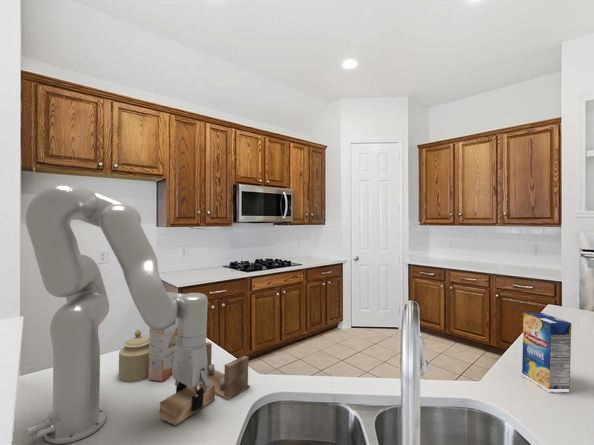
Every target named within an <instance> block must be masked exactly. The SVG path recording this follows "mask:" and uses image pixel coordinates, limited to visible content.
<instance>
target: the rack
mask: <svg viewBox="0 0 594 445" xmlns="http://www.w3.org/2000/svg"><path fill="white" fill-rule="evenodd" d="M212 345H213V343H212V342H209V341H206V349H207V378H208V380H209V382H210V383H211V384H213V385H215V395H216V396H218V397H220V398H222V399H223V400H225V401H230V400H231V399H232V398H235V397H237V396H238V395H239V394H241V393H243V392H244V391H247V390H248V389H250V385H249V356H246V355H243V356H241V357H239V358H237V359H234V360H232V361H230V362H228V363H226V364H224V372H221V371H219V370H216V369H215V364H214V363H212V351H213V350H212V348H213V347H212Z"/></svg>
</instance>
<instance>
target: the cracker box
mask: <svg viewBox="0 0 594 445" xmlns="http://www.w3.org/2000/svg"><path fill="white" fill-rule="evenodd" d="M148 338H149V368H148V378H147V379H148V380H149V381H157V382H161V383H162V382H165V380H167V379H168V378H169V377H170V376H172V366H173V357H174V350H175V346H176V343H177V338H178V319H177V318H176V320H175V322H174V323H173V324H172V325H171V326H170V327H169V328H167V329H164V330H154V329H152V328H150V327H149V336H148Z"/></svg>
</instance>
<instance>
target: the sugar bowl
mask: <svg viewBox="0 0 594 445" xmlns="http://www.w3.org/2000/svg"><path fill="white" fill-rule="evenodd" d="M148 368H149V336H148V337H147V336H145V335H142V331H141V330H140V329H137V330H135V332H134V336H133V337H131V338H129V339H128V340H127V341H125V342H124V343H123V347H122V348H121V349H120V350H119V351H118V379H119V380H120V381H122V382H125V383H133V382H139V381H143V380H147V379H148Z"/></svg>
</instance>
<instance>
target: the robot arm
mask: <svg viewBox="0 0 594 445" xmlns="http://www.w3.org/2000/svg"><path fill="white" fill-rule="evenodd" d="M72 220H73V221H75V220H78V221H81V222H85V223H87V224H89V225H92V226H95V227H99V228H100V229H101V231H102V233H103V235H104V238H106V241H107V243H108V244H109V246H110V248H111V250H112V252H113V254H114V256H115V257H116V260H117V261H118V262H117V263H118V264H119V266H120V268H121V269H122V274H123V277H124V280H125V282H126V285H127V288H128V290H129V293H130V296H131V298H132V301H133V303H134V305H135V307H136V309H137V311H138V312H139V314H140V316H141V318H142V320H143V321H144V324H146V325H147V327H148V328H149V329H150V328H152V329H154V330H164V329H167V328H169V327H170V326H171V325H172V324H173V323H174V322H175V320H176V318H177V319H178V338H177V343H176V346H175V350H174V357H173V366H172V375H171V376H172V378H173V379H174V380H175V382H174V385H175V393H177V392H179V391H181V390H182V389H184V388H186V387H190V388H193V393H194V396H192V411H193V412H194V411H196V410H198V409H199V410H201V409H202V408H203V407H204V406H203V394H204V393H205V392H206V391H207V389H208V388H209V387H210V382H209V380H208V378H207V349H206V343H207V328H208V327H207V326H208V325H207V324H208V303H209V302H208V299H209V298H208V296H207V295H206V294H204V293H202V292H188V293H177V292H173V291H172V292H171V291H169V292H168V291H167V290H166V288H165V286H164V284H163V281H162V279H161V276H160V272H159V267H158V258H157V255H156V252H155V251H154V248H153V246H152V245H151V243H150V241H149V239H148V237H147V234H146V233H145V231H144V229H143V226H142V225H141V223H142V218H141V215H140V213H139V211H138V210H137V209H136V208H135V207H133V206H130V205H128V204H125V203H122V202H120V201H118V200H114V199H112V198H110V197H107V196H105V195H102V194H99V193H98V192H94V191H92V190H89V189H87V188H82V187H80V186H76V185H71V184H67V183H66V184H62V183H61V184H60V183H59V184H54V185H51V186H48V187H46V188H45V189H43V190H41V191H40V192H38V193H37V194H36V195H35V196H34V197H33V198H32V199H31V200H30V201H29V204H28V206H27V207H26V212H25V225H26V230H27V233H28V236H29V239H30V241H31V245H32V248H33V251H34V252H33V253H34V256H35V260H36V264H37V266H38V269H39V273H40V276H41V280H42V284H43V286H44V288H45V290H46V292H48V294H50V295H51V296H53V297H55V298H65V300H66V303H65V304H63V305H62V306H60V308H59V309H58V310H56V312H55V314H54V315H53V317H52V318H51V321H50V326H49V334H50V339H51V346H52V412H50V413H48V415H47V419H44V420H43V421H42V422H41V423H39V424H35V425H32V426H29V427H28V428H26V430H25V434H26V437H27V438H30V437H33V436H36V438H37V439H39V438H42V437H43V438H44V440H45V441H46V442H47V443H50V444H53V445H54V444H55V445H56V444H57V445H60V444H61V445H62V444H67V443H73V442H77V441H80V440H82V439H84V438H87V437H88V436H91V435H92V434H93V433H96V432H97V431H98V430H99V429H100V428H102V426H104V424H105V423H106V421H107V412H106V410H105V409H103V408H100V391H101V390H100V389H101V388H100V385H101V384H100V383H101V382H100V381H101V380H100V379H101V378H100V376H101V373H100V372H101V369H100V368H101V360H100V359H101V346H100V337H99V327H100V326H101V324H102V323H103V321H104V320H106V319H107V318H106V317H107V316H108V314H109V311H110V302H109V301H110V300H109V297H108V294H107V290H106V286H105V283H104V280H103V277H102V273H101V270H100V267H99V266H98V264H97V263H96V261H95V260H94V259H93V258H91V257H90V256H88V255H86V254H82V253H81V252H80V248H79V245H78V241H77V237H76V234H75V233H74V231H73V229H72V227H71V222H72ZM198 381H199V382H198ZM198 385H200V389H199V390H198V391H197V386H198ZM200 408H201V409H200ZM199 410H198V411H199ZM196 412H197V411H196Z"/></svg>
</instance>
